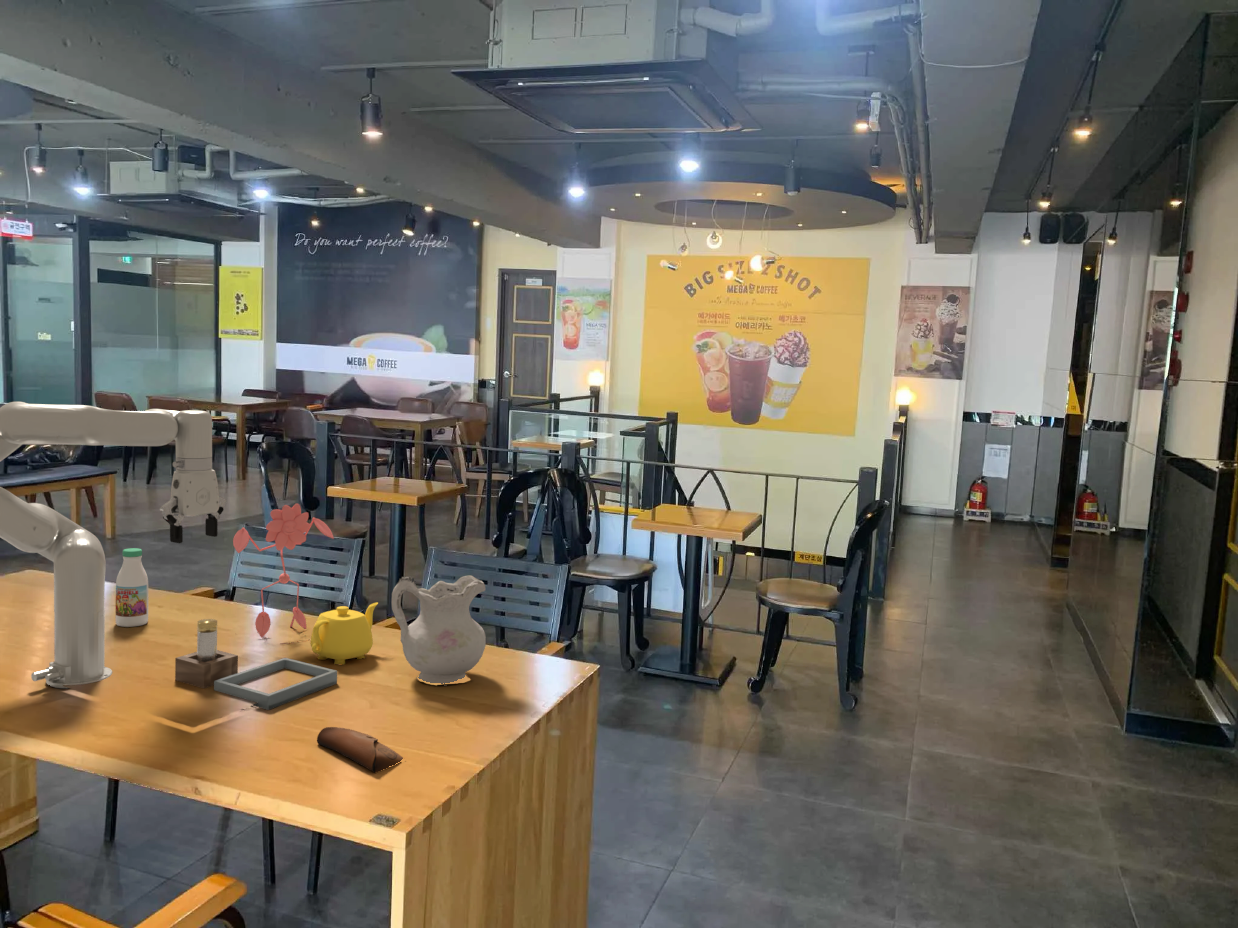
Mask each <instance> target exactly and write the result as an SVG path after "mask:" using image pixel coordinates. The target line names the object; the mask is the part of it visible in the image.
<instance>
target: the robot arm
mask: <svg viewBox="0 0 1238 928" xmlns="http://www.w3.org/2000/svg"><path fill="white" fill-rule="evenodd" d="M212 418H213V417H212V414H211V412H208V411H205V410H197V409H195V410H194V409H193V410H192V409H189V410H188V409H187V410H180V411H179V410H171V409H170V410H169V409H162V408H150V409H146V410H145V411H144V410H143V411H142V410H141V411H140V410H138V411H136V410H135V411H134V410H131V411H130V410H115V409H114V410H113V409H106V408H101V407H97V406H93V405H86V404H85V405H84V404H47V403H45V404H44V403H43V404H42V403H27V402H24V401H10V402H8V403H6V404H3V405H2V406H0V462H2V461H4V459H6V458H7V457H9V456H10V455H11V454H12V453H14V452H15V451H17V450H18V449H19V448H20V447H22V446H23V445H69V446H70V445H72V446H75V445H76V446H81V445H82V446H119V447H120V446H123V447H126V446H127V447H162V446H166V445H168V444H170V443H171V442H173V441H175V461H173V462H172V467H174V468H175V471H173V475H172V480H171V489H170V498H169V500H167V502H165V503H164V504H162V505H161V506H160V507H159V511H160V513H161V515H162V518H163V519H164V521H165V522H166V524H167V525H169V540H170V542H171V543H176V544H182V543H183V542H184V541H183V532H184V531H183V525H182V524H181V523H182V522H183V521H184V519H185V517H188V518H189V517H198V516H203V515H206V517H207V518H205V522H204V524H205V525H204V526H205V527H204V528H205V536H208V537H218V535H219V534H218V533H219V532H218V528H219V527H218V520H219V519H221V514H222V513H223V512H224V508H225V505H226V504H227V499H226V498H224V497H222V496H220V494H219V492H220V491H219V483H218V478H217V474H216V470H214V469H213V419H212ZM0 538H1V539H2V540H3V541H6V542H7V543H8V544H10V545H11V546H13V547H15V548H16V549H18V550H20V551H22V552H25V553H30V554H35V553H37V554H38V555H40V556H42V557H44V558H46V559H47V560H49V561H51V562H52V563H53V612H54V616H53V617H54V621H53V623H54V626H53V627H54V633H53V634H54V643H53V644H54V655H53V656H54V661H51V662H49V666H48V667H46V668H45V669H43V670H38V671H34V672H32V673H31V675H30V677H31V680H32V681H33V682H38V681H41V680H44V679H45V682H46V683H45V684H47V685H48V686H49V685H50V687H53V688H55V689H68V687H66V686H78V685H79V686H80V685H87V684H91V683H97V682H100V681H103V680H106V679H108V678H110V677H111V675H112V674H113V670H112V669H111V668H110V667H106V666H105V611H106V610H105V609H106V608H105V586H106V584H105V583H106V567H107V566H106V555H105V551H104V547H103V545H102V542H101V541H100V540H99V538H98V537H97V536H96V535H94V533H92V532H91V531H89V530H87V529H86V528H84V527H82V526H81V525H79V524H78V523H76V522H74V521H73V520H71V519H70V518H68V517H66V516H65V515H63V514H62V513H61V512H58V511H57V510H55V509H53V508H51V507H50V506H48V505H45V504H43V503H39V502H29V503H28V502H27V501H26V500H23V499H21V498H20V497H18V496H16V495H15V494H14V493H12V492H11V491H9V490H8V489H5V488H3V487H2V486H0Z"/></svg>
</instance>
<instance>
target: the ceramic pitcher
mask: <svg viewBox="0 0 1238 928" xmlns="http://www.w3.org/2000/svg"><path fill="white" fill-rule="evenodd" d="M415 579H416V577H415V576H413V575H410V576H401V578H399V580H398V582H397V583H396V585H395V586H394V587H393V590H392V592H391V610H392V612H393V615H394V619H395V621H396V623H397V624H398V626H399V627H400V642H401V645H402V651H403V655H404V657H405V660H406V662H407V663H408V664H409V665H410V667H412V668H413V669H415V670H416V671H418V672H420V673H419V674H418V675H419V677H418V678H419V679H422V680H423V681H426V682H430V683H441V684H443V683H444V684H445V683H450V682H454V681H457V680H458V679H462V678H464V677H465V675H467V674H466V672H468V671H472V669H474V667H476V665H477V664H478V663H479V662H480V660H481V659H482V657H483V654H484V652H485V650H486V646H487V645H486V644H487V643H486V636H487V635H486V632H485V630H484V628H483V627H482V625H480V624H479V623H478V622H477V621H476V620H474V619H473V618H472V616H471V613H470V605H471V603H472V601H473V600H474V599H475V597H477V595H478V594H481V593H483V592H485V591H486V584H485V582H483V580H480V579H479V578H477V577H474V576H473V575H464V576H461V577H460V578H458V579H457V580H456V581H455V582H453V583H451V582H445V581H444V580H439V581H437V582H436V583H435V584H434V585H432V586H431V587H430V588H428V589H426V588H423V587H421V588H418V587H417V585H416V583H415ZM405 592H408V593H409V592H410V593H411V594H413V595H414V597H416V598H417V599H418V601H419V606H420V607H419V608H420V611H419V615H418V616H417V617H416V619H415V620H414V621H412V622H411V623H410V624H408V623H407V620H406V616H405V614H404V613H405V612H404V610H403V609H402V606H401V603H402V596H403V594H404V593H405Z"/></svg>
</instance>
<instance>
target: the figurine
mask: <svg viewBox="0 0 1238 928" xmlns="http://www.w3.org/2000/svg"><path fill="white" fill-rule="evenodd" d="M281 507H282V508H281V509H277V508H276V509H272V510H271V511H270V513H269V515H270V517H271V519H272V520H270V521H269V522H268V523H267V524H266V526H265V528H266V529H265V530H266V531H267V533H266V536H265V541H266V542H268V543H270V542H274V544H271V545H269V546H266V547H263V548H260V547H259V546H258V545H257V543H256V542H255V541H254V539H253V538H252V537H251V536H250V534H249V532H248V530H247V529H246V528H245V527H241V529H238V530H237V532H236V533H235V535H234V537H233V539H232V542H233V543H232V545H233V547H234V549H235V551H236V553H237V554H240V553H241V552H242V551H243V550H245V549H246V548H247V546H248V544H249V542H250V541H251V543H252V545H253V546H254V547H255V548H256V549H257V550H258V552H263V551H265V550H269V549H272V548H274V547H275V548H276V551H280V559H281V565H282V571H283V572H282V573H281V574H280V575H279V576H278V580H277V581H275V582H273V583H271V584H269V585H267V586H265V587H263V588H261V590H260V596H261V607H262V608H261V610H262V611H261V612H259V613H258V614H257V616H256V619H255V621H254V624H255V625H254V626H255V630H256V631H257V633H258V635H259V637H260V638H263V637H264V636H266V634H268V632H269V630H270V627H271V617H270V615H269V613H268V612H266V611H265V607H264V593H263V592H264V591H263V590H266V589H269V588H270V587H272V586H274V585H276V584H278V583H281V584H283V585H284V584H287V583H289V582H291V583H293V584H295V585H297V588H296V589H297V591H296V592H297V594H296V606H293V608H292V615H293V616H292V619H291V623H290V626H289V627H290V628H293V625H294V622H296V623H297V624H298V625H299V626H300V627H301V628H303V629H304V630H305V629H306V630H307V620H306V617H305V615H304V613H303V611H302V610H301V609H300V608H299V596H300V595H299V593H300V591H299V590H300V584H299V583H298V582H295V581H294V580H291V579H290V575H289V574H288V573H286V567H285V560H284V553H283V552H284V551H283V549H284V548H286V549H287V550H290V551H292V550H294V549H295V547H296V546H297V545H299V546H300V545H302V544H303V543H305V542H306V541H307V535H308V533H309V531H310V529H311V527H312V526H313V524H314V525H315V527H316V528H317V530H318V531H319V532H320V533H322V535H324V536H325V537H328V538H330V539H332V540H333V539H335V537H334V535H333V532H332V530H331V528H330V527H329V526H328V524H327V523H325V522H324V521H323V520H321V519H320V518H316V517H312V520H311V522H310V523H309V522H308V520H309V517H310V516H309V512H307V511H306V512H305V511H304V512H303V513H302V508H301V504H299V503H295V504H294V505H293V506H292V507H291V506H290V505H287V504H284V505H282V506H281ZM235 635H237V633H235ZM283 644H284V645H287V644H289V642H283V643H279V645H283ZM292 644H295V643H294V642H292Z"/></svg>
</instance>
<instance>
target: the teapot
mask: <svg viewBox="0 0 1238 928" xmlns="http://www.w3.org/2000/svg"><path fill="white" fill-rule="evenodd" d="M378 604H379V602H377V601H376V602H373V603H371V604H369V605H368V607H367V608H366V611H365V614H364V613H363V612H360V611H357V610H352V609H349V607H348V606H345V605H342V606H341V605H340V606H337V607H336V609H332V610H328V611H324V612H320V614H319V616H318V617H317V619H316V621H315V623H314V625H313V627H312V632H311V635H310V636H311V637H310V639H311V640H309V641H310V642H309V643H310V647H311V651H312V652H313V653H314V654H317V655H318V656H317V658H318V660H327V659H333V660H334V665H335V664H343V665H345V664H346V660H348V659H355V658H357V659H356V660H363V659H362V658H364V659H365V658H366V656H365V655H366V654H368V653H370V650H371V649H372V647H373V645H374V641H373V640H374V639H373V631H372V629H373V620H374V619H373V618H374V617H373V616H374V610H375V608H376V607H377V605H378Z"/></svg>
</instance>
